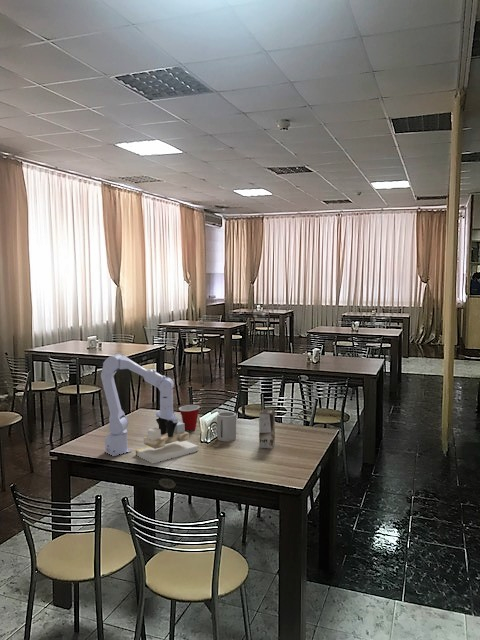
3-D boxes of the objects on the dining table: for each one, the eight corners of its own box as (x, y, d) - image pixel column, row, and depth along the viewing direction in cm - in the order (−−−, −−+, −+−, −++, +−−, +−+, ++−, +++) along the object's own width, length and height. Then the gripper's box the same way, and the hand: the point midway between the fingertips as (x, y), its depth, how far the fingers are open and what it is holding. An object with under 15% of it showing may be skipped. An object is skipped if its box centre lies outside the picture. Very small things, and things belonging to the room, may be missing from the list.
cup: (237, 435, 260) (236, 411, 259) (235, 441, 251) (234, 416, 250) (218, 435, 261) (218, 411, 260) (216, 440, 252) (216, 416, 251)
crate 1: (153, 440, 227) (152, 431, 226) (148, 438, 230) (147, 429, 229) (160, 438, 229) (160, 429, 229) (155, 436, 232) (155, 427, 232)
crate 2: (177, 434, 235) (177, 425, 235) (172, 432, 238) (172, 423, 238) (184, 432, 238) (184, 423, 237) (179, 430, 241) (179, 421, 240)
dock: (152, 463, 221) (152, 457, 221) (135, 455, 232) (135, 449, 231) (198, 451, 237) (198, 445, 237) (180, 443, 248) (180, 438, 247)
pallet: (155, 448, 225) (155, 442, 224) (144, 444, 231) (143, 437, 231) (189, 439, 237) (189, 433, 236) (177, 435, 243) (177, 428, 243)
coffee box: (272, 448, 240) (272, 414, 239) (258, 448, 241) (258, 413, 240) (275, 442, 249) (275, 409, 248) (261, 441, 250) (261, 408, 249)
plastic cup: (177, 427, 274) (176, 405, 273) (197, 425, 278) (197, 403, 277) (181, 433, 264) (180, 410, 263) (202, 431, 267) (201, 408, 266)
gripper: (183, 406, 230) (183, 437, 231) (165, 401, 241) (165, 430, 242) (170, 409, 225) (170, 440, 226) (151, 403, 236) (152, 433, 237)
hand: (167, 435), depth 234 cm, fingers closed on pallet, 5 cm apart
